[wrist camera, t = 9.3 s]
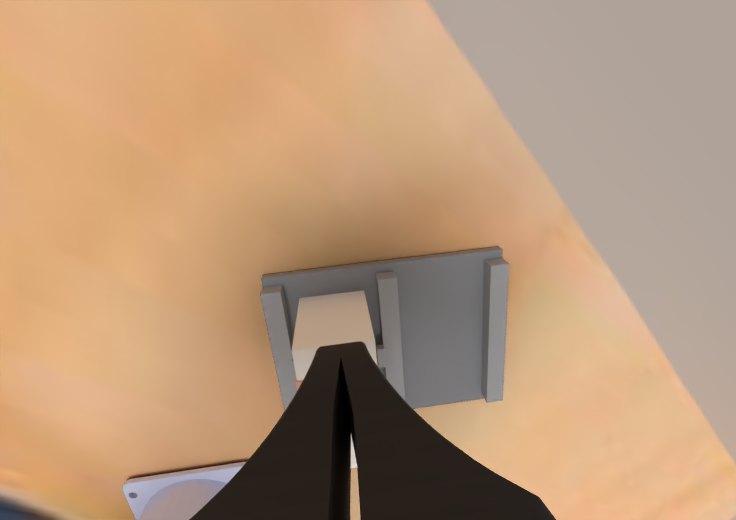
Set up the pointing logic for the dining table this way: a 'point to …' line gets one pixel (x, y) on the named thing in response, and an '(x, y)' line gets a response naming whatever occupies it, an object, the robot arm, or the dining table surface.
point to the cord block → (330, 330)
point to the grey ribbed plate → (411, 321)
